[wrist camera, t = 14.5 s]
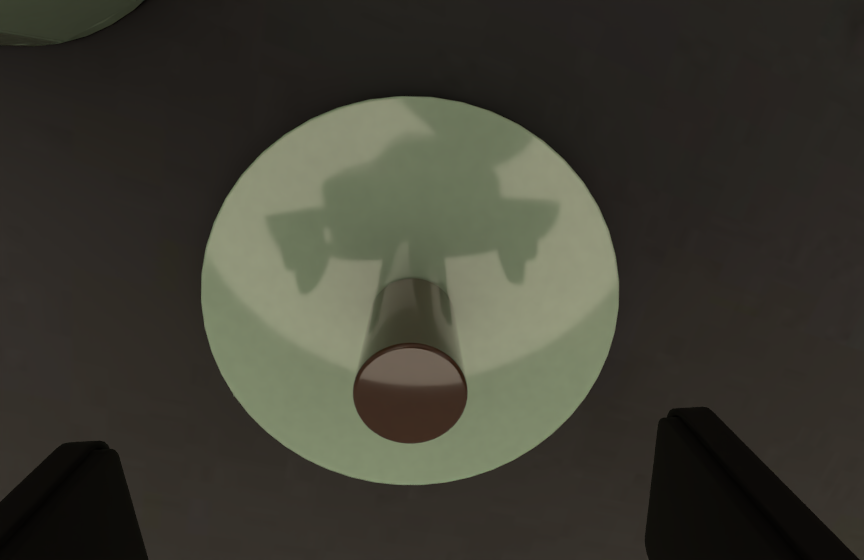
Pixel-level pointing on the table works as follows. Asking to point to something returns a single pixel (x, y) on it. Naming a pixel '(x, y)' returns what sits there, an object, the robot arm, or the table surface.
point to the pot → (57, 19)
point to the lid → (410, 290)
